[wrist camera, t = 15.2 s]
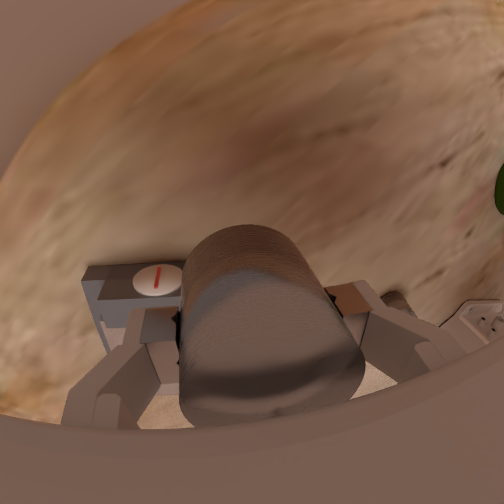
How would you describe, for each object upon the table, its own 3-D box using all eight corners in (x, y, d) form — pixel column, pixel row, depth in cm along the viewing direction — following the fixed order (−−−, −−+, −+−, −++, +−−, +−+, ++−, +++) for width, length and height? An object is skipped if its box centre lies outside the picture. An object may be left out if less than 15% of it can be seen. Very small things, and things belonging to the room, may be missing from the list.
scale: (242, 252, 28) (252, 285, 23) (242, 373, 36) (249, 408, 31) (87, 262, 26) (68, 296, 21) (128, 379, 34) (123, 413, 29)
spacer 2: (406, 306, 35) (423, 332, 31) (378, 324, 36) (393, 351, 32) (398, 286, 33) (417, 312, 29) (368, 305, 34) (384, 334, 30)
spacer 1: (308, 218, 10) (385, 311, 6) (300, 321, 12) (345, 421, 8) (171, 231, 9) (157, 345, 5) (191, 335, 12) (197, 447, 7)
